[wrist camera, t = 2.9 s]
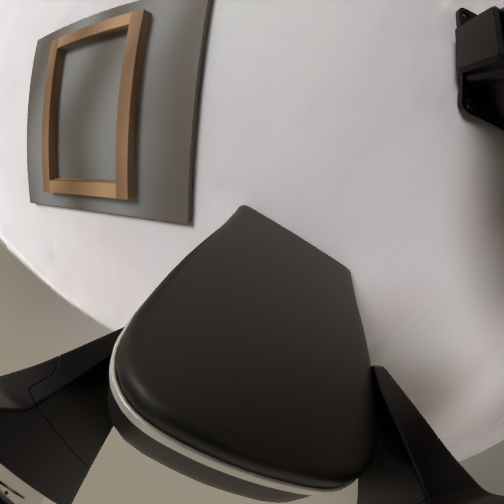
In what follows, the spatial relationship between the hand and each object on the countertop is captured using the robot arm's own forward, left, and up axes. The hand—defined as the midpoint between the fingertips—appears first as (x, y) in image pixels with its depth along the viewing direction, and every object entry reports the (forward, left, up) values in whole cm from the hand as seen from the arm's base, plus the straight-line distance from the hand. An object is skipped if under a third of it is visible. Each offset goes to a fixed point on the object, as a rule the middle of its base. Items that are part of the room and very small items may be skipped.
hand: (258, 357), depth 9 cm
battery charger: (0, 0, -7) cm, 7 cm away
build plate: (+12, -8, -7) cm, 16 cm away
